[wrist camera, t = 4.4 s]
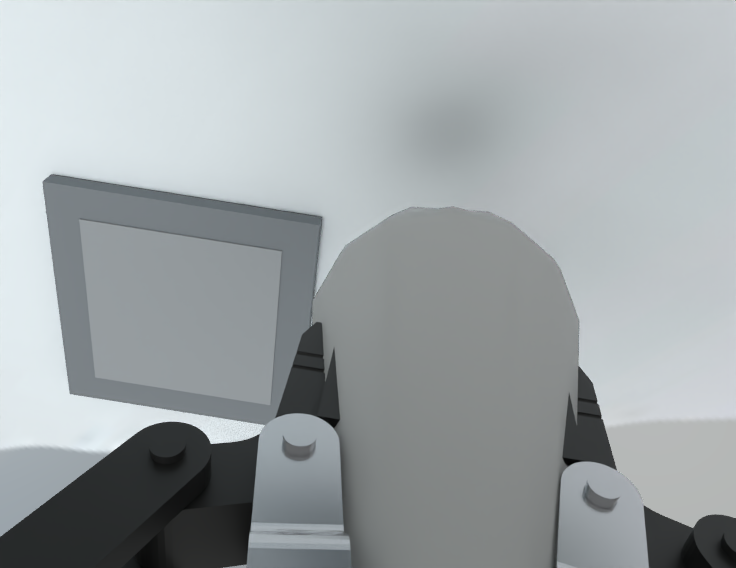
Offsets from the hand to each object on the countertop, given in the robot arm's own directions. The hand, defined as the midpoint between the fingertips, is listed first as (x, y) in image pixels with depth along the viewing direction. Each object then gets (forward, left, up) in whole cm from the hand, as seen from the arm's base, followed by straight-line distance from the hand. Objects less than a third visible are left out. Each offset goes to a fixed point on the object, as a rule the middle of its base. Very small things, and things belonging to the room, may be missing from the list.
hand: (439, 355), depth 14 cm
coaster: (+10, +11, -15) cm, 21 cm away
